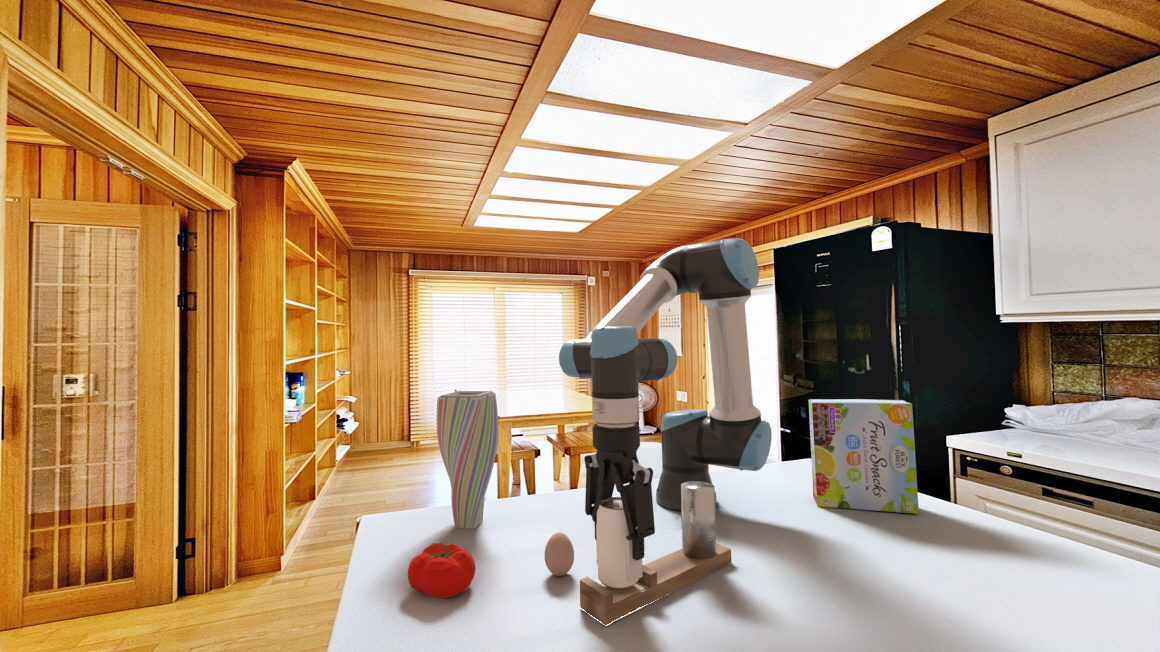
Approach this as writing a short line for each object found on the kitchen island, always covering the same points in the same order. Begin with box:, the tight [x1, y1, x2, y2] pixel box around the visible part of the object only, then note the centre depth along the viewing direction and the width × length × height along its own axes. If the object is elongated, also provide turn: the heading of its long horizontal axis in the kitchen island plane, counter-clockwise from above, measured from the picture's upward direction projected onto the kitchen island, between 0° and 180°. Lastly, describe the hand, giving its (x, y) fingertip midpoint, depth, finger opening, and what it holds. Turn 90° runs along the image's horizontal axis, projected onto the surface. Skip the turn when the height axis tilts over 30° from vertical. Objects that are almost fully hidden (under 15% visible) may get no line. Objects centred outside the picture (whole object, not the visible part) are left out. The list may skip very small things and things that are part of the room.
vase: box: [435, 390, 499, 529], centre depth 110 cm, size 14×14×30 cm
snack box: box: [808, 398, 920, 515], centre depth 117 cm, size 22×9×26 cm, turn 71°
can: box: [596, 496, 638, 589], centre depth 75 cm, size 6×6×12 cm
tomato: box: [407, 542, 476, 599], centre depth 81 cm, size 10×11×6 cm
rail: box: [579, 542, 732, 625], centre depth 81 cm, size 6×31×4 cm, turn 128°
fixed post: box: [681, 481, 717, 560], centre depth 88 cm, size 6×6×12 cm
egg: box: [544, 531, 575, 577], centre depth 85 cm, size 5×5×7 cm
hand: (619, 570), depth 75 cm, fingers closed on can, 6 cm apart
